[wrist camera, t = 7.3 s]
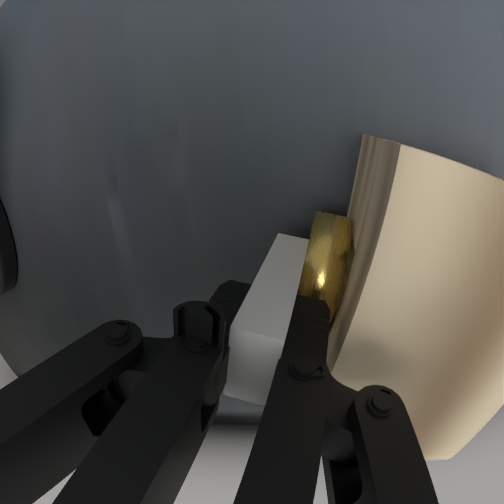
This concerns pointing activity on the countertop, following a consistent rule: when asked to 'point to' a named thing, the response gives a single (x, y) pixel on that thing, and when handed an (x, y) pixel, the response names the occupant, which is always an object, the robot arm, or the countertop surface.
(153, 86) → the countertop surface
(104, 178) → the countertop surface
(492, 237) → the bore block
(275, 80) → the countertop surface
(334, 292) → the pin
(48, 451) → the robot arm
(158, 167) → the countertop surface
